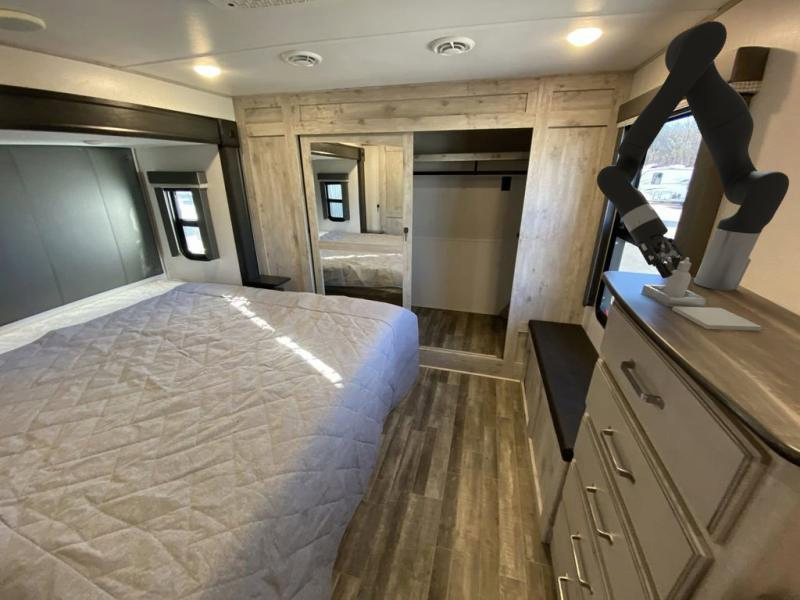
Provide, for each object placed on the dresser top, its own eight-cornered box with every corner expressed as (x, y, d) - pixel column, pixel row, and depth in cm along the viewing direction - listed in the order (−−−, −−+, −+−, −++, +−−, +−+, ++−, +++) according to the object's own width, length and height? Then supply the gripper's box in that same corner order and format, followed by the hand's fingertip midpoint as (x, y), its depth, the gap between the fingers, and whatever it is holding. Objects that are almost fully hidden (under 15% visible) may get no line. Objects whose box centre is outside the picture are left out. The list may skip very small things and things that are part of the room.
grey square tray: (674, 293, 91) (677, 285, 90) (703, 307, 82) (707, 298, 81) (641, 292, 91) (644, 284, 90) (666, 306, 82) (669, 297, 81)
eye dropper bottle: (681, 299, 87) (698, 257, 82) (680, 305, 83) (698, 261, 79) (661, 294, 90) (677, 254, 85) (660, 300, 86) (676, 258, 81)
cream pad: (719, 311, 80) (721, 308, 80) (759, 330, 71) (761, 326, 71) (672, 309, 80) (673, 306, 80) (706, 328, 71) (707, 324, 71)
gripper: (644, 217, 83) (679, 271, 78) (670, 215, 89) (704, 265, 85) (617, 234, 89) (648, 284, 85) (643, 230, 96) (673, 277, 91)
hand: (676, 274), depth 85 cm, fingers open, 8 cm apart
